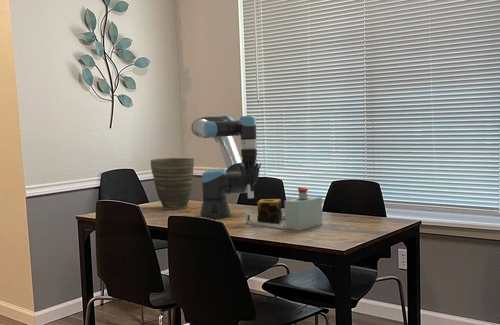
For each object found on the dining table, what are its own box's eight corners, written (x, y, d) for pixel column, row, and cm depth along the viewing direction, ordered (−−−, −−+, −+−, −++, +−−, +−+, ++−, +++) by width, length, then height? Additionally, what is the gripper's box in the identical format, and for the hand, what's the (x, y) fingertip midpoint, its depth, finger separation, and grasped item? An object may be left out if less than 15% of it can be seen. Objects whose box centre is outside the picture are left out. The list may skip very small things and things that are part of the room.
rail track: (246, 223, 259) (245, 215, 259) (274, 217, 273) (273, 208, 273) (282, 228, 244) (282, 219, 243) (310, 221, 258) (310, 213, 257)
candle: (279, 224, 256) (278, 202, 255) (257, 223, 258) (256, 202, 257) (282, 219, 266) (281, 198, 265) (261, 219, 268) (260, 198, 267)
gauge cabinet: (283, 228, 246) (282, 200, 245) (306, 222, 257) (305, 196, 256) (299, 230, 239) (298, 202, 238) (322, 224, 251) (321, 197, 250)
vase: (199, 210, 305) (190, 156, 299) (156, 217, 305) (146, 163, 299) (203, 198, 329) (194, 148, 323) (162, 204, 329) (153, 154, 323)
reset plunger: (296, 206, 247) (295, 188, 247) (302, 204, 250) (302, 186, 250) (304, 207, 244) (303, 188, 244) (310, 205, 247) (310, 187, 247)
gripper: (233, 148, 269) (235, 198, 271) (253, 149, 260) (255, 199, 262) (244, 147, 275) (246, 196, 276) (264, 148, 265) (266, 197, 267)
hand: (250, 197), depth 269 cm, fingers closed
